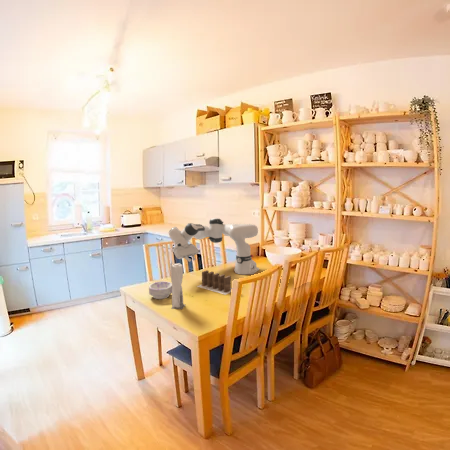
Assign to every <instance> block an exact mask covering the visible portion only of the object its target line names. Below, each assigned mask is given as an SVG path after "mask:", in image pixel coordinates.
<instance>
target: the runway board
mask: <svg viewBox="0 0 450 450" xmlns="http://www.w3.org/2000/svg"><path fill="white" fill-rule="evenodd" d="M196 288H201V289H205V290H207V291H210V292H211V291H212V292H215V293H218V294H222V295H224V296H226V295H228V294H230V293H232V292H231V291H228V292H224V290H221V291H219V290H218V288H217V289H213V286H212V287H210V288H209V287H207V285H206V286H202V283H201V284H199V285H196ZM231 289H233V288H232V287H231Z"/></svg>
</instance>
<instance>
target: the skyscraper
mask: <svg viewBox="0 0 450 450" xmlns="http://www.w3.org/2000/svg"><path fill="white" fill-rule="evenodd" d="M169 266H170V267H169V268H170V280H171V281H170V283H172V293H171V308H170V309H171V310H184V308H185V306H187V304H185V303H184V294H183V292H184V291H183V286H182V285H183V277H184V276H183V275H184V273H183V272H184V271H183V270H184V267H183V266H184V265H183V264H181V263H180V262H178V263H174V262H173V261H169Z"/></svg>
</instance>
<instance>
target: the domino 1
mask: <svg viewBox="0 0 450 450" xmlns="http://www.w3.org/2000/svg"><path fill="white" fill-rule="evenodd" d="M207 273H210V272H209V270H207V269H206V270H204V271H201V284H202V286H206V285H207Z"/></svg>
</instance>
